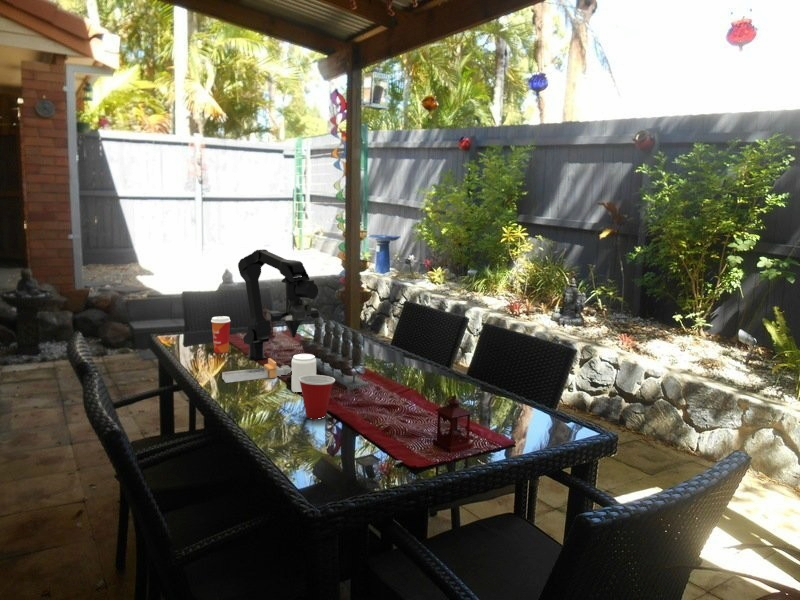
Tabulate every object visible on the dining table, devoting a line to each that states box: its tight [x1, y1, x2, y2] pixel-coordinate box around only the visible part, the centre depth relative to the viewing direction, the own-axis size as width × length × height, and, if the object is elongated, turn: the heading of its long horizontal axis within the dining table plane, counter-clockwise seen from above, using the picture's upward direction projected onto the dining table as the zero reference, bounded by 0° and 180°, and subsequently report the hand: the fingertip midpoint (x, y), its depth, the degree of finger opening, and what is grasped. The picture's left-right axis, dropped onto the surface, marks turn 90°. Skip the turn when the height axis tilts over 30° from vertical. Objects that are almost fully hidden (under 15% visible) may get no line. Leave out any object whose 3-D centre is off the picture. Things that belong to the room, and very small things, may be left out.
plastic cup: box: [299, 374, 336, 420], centre depth 194 cm, size 11×11×12 cm
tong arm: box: [221, 365, 280, 381], centre depth 232 cm, size 20×2×2 cm, turn 118°
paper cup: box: [210, 315, 232, 354], centre depth 264 cm, size 8×8×14 cm
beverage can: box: [291, 353, 317, 393], centre depth 217 cm, size 8×8×12 cm
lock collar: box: [263, 357, 278, 379], centre depth 233 cm, size 7×2×5 cm, turn 29°
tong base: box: [223, 364, 292, 384], centre depth 232 cm, size 5×24×2 cm, turn 119°
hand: (293, 337), depth 242 cm, fingers closed
